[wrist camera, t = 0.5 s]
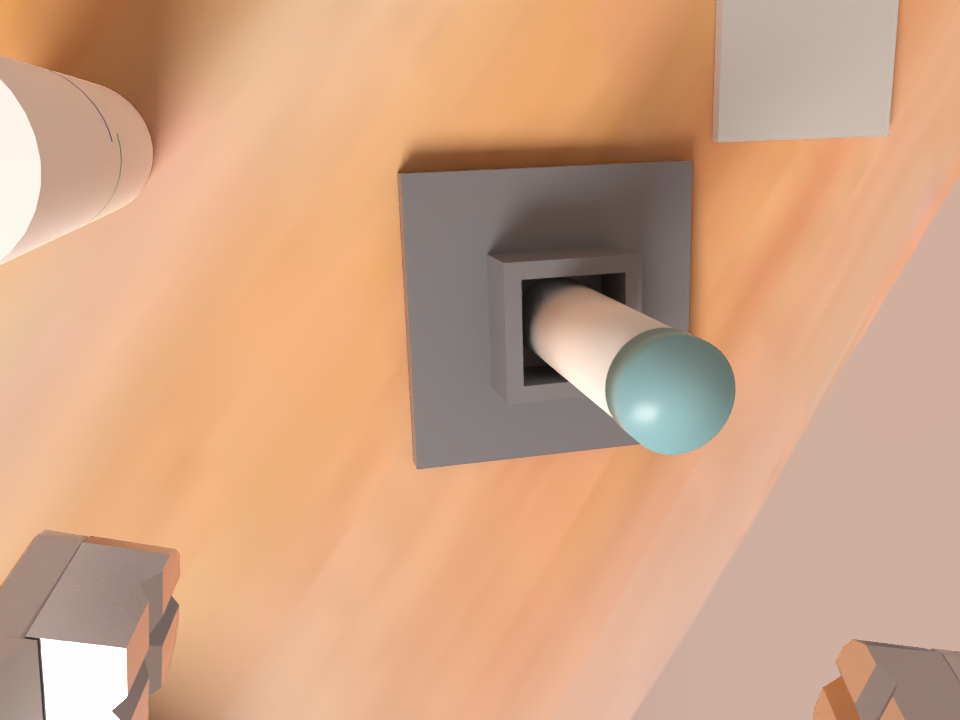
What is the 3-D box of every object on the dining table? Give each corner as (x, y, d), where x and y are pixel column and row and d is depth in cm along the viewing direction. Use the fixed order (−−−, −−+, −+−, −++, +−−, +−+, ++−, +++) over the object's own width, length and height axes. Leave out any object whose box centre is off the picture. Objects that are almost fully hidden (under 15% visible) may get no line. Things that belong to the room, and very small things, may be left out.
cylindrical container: (114, 60, 48) (-44, -16, 24) (176, 185, 50) (87, 229, 26) (-15, 110, 47) (-309, 84, 23) (54, 236, 49) (-151, 328, 25)
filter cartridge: (512, 277, 54) (622, 342, 37) (593, 271, 55) (737, 332, 38) (514, 360, 55) (621, 460, 38) (594, 353, 56) (733, 447, 39)
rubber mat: (718, -65, 53) (724, -68, 52) (895, -63, 56) (904, -66, 55) (712, 142, 56) (718, 142, 55) (880, 135, 59) (888, 135, 58)
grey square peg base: (397, 172, 52) (410, 177, 47) (682, 160, 56) (724, 162, 51) (413, 461, 57) (427, 493, 52) (676, 431, 61) (714, 459, 55)
